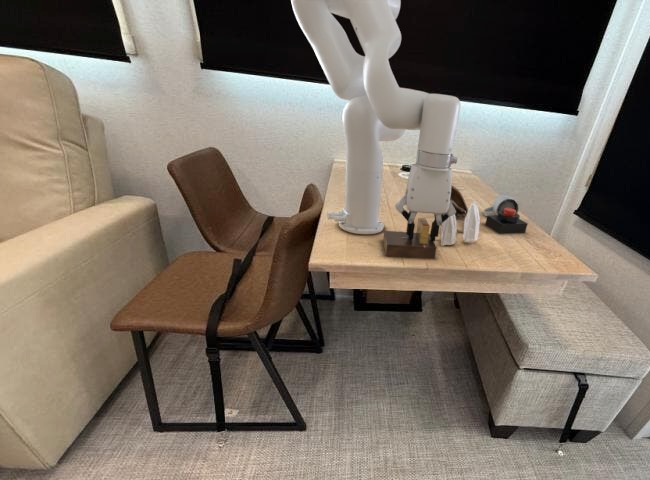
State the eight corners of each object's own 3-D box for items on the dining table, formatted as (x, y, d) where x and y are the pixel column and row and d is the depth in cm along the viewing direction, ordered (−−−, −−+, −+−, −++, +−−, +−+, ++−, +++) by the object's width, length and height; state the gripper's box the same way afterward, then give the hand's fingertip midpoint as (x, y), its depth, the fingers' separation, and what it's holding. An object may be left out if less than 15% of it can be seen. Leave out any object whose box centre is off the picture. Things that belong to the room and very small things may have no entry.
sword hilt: (476, 198, 110) (438, 175, 107) (486, 220, 89) (439, 192, 86) (459, 223, 115) (422, 202, 112) (465, 250, 94) (420, 224, 91)
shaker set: (474, 239, 94) (483, 201, 88) (481, 245, 91) (491, 205, 85) (435, 240, 91) (443, 200, 85) (441, 246, 87) (449, 204, 81)
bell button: (507, 217, 101) (509, 211, 100) (500, 213, 104) (502, 207, 103) (516, 216, 103) (518, 211, 102) (509, 213, 105) (511, 207, 105)
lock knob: (415, 234, 84) (418, 216, 81) (422, 235, 84) (425, 217, 82) (419, 243, 79) (422, 224, 76) (426, 244, 79) (430, 225, 77)
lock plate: (386, 257, 78) (387, 244, 76) (382, 240, 86) (383, 229, 84) (443, 260, 80) (445, 248, 78) (434, 243, 88) (436, 232, 87)
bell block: (499, 234, 101) (503, 218, 98) (484, 224, 107) (488, 209, 104) (524, 233, 105) (529, 217, 102) (509, 224, 111) (513, 209, 108)
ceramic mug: (509, 214, 120) (515, 193, 116) (515, 222, 113) (522, 199, 109) (480, 212, 120) (485, 190, 116) (485, 219, 113) (490, 196, 109)
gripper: (465, 161, 76) (450, 234, 86) (393, 153, 74) (386, 230, 83) (475, 167, 70) (458, 246, 80) (397, 159, 67) (388, 242, 77)
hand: (421, 237), depth 81 cm, fingers open, 5 cm apart
